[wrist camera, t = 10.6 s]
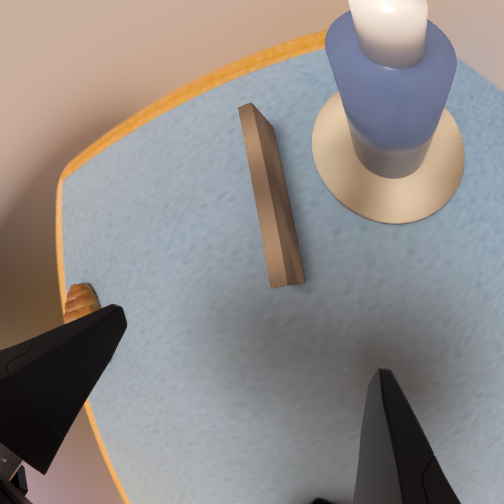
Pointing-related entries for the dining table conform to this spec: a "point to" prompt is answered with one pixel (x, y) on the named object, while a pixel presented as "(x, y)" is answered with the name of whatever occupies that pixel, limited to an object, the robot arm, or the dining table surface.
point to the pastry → (80, 302)
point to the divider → (271, 199)
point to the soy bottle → (390, 81)
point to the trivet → (379, 188)
